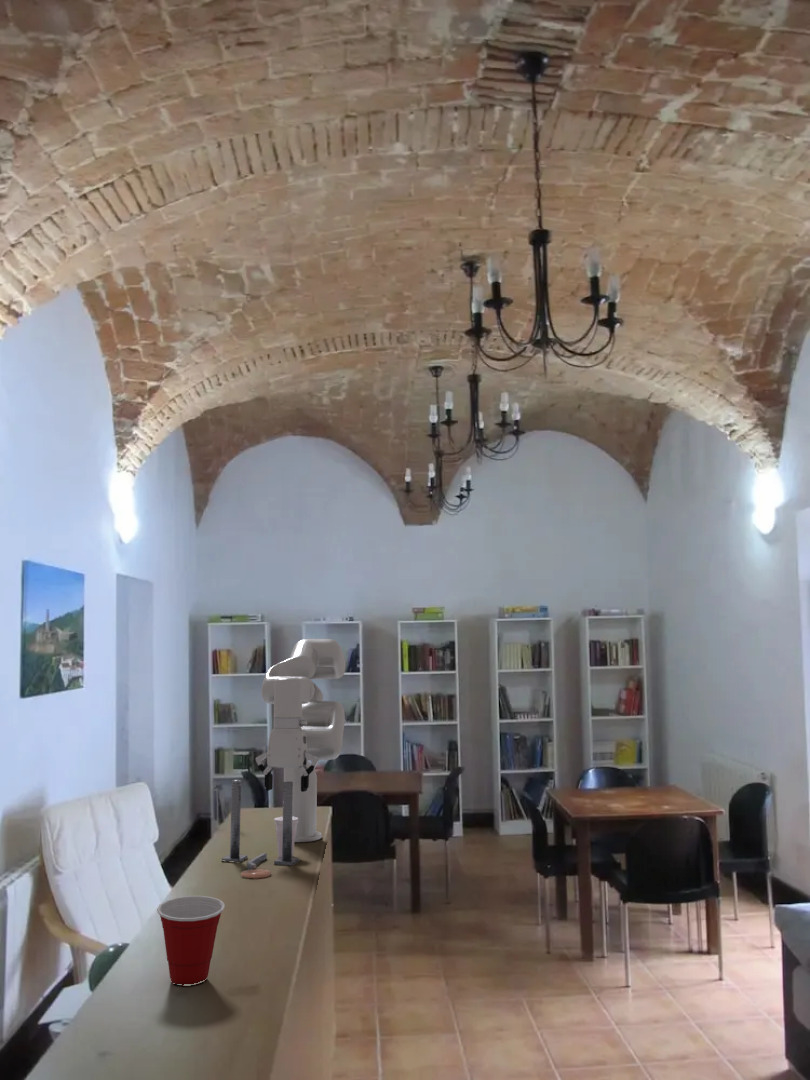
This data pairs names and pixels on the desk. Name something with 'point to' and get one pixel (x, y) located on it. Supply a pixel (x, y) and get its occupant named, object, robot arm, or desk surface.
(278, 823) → the smoothie
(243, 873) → the coaster
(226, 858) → the post
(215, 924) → the plastic cup
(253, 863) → the bent rail
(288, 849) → the post
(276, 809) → the desk surface
